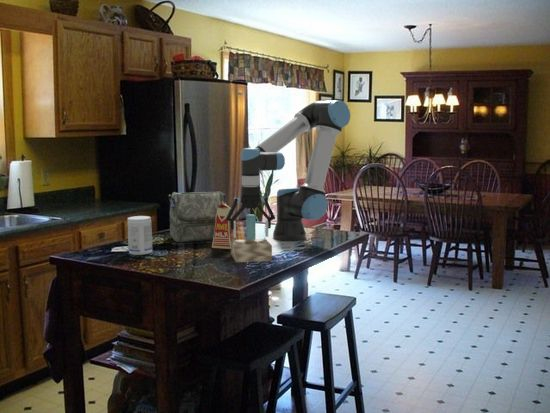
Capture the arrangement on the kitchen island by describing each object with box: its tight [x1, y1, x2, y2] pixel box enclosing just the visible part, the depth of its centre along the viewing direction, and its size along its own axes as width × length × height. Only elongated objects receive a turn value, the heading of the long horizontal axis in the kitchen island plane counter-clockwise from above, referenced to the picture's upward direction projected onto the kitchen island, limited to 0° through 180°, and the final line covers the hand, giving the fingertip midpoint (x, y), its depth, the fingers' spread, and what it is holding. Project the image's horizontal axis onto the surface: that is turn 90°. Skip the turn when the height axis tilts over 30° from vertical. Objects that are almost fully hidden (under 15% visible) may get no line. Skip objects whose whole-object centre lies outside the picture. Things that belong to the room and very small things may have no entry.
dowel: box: [245, 214, 257, 240], centre depth 257 cm, size 4×4×15 cm
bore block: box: [230, 238, 273, 263], centre depth 245 cm, size 14×14×6 cm
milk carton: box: [211, 201, 237, 250], centre depth 266 cm, size 9×9×20 cm
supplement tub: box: [127, 215, 153, 256], centre depth 253 cm, size 10×10×15 cm
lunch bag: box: [168, 190, 226, 243], centre depth 284 cm, size 26×18×22 cm
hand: (250, 236), depth 257 cm, fingers open, 13 cm apart
